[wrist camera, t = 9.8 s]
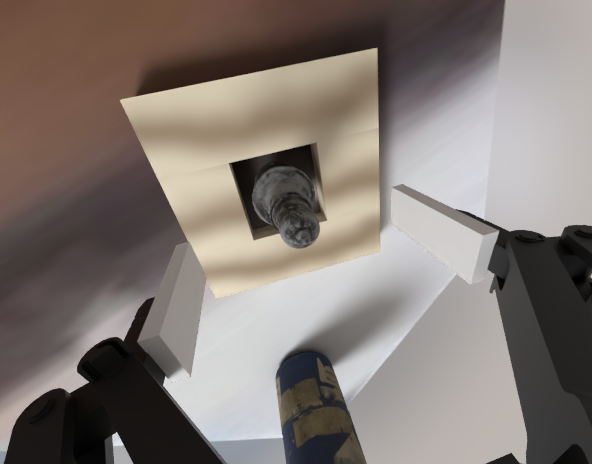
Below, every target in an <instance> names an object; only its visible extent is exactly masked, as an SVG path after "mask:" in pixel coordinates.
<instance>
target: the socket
mask: <svg viewBox="0 0 592 464" xmlns="http://www.w3.org/2000/svg"><path fill="white" fill-rule="evenodd" d="M120 102H121V104H122V106H123V108H124V110H125V112H126V114H127V116H128V118H129V120H130V122H131V124H132V126H133V128H134V130H135V133H136V135H137V137H138V139H139V141H140V143H141V145H142V147H143V149H144V151H145V153H146V155H147V157H148V159H149V161H150V163H151V166H152V168H153V170H154V172H155V174H156V176H157V178H158V180H159V182H160V184H161V186H162V188H163V190H164V192H165V194H166V197H167V199H168V201H169V203H170V205H171V207H172V209H173V211H174V213H175V215H176V217H177V219H178V221H179V223H180V225H181V227H182V230H183V232H184V234H185V236H186V238H187V240H188V242H190V244H191V246H192V248H193V250H194V252H195V254H196V256H197V258H198V260H199V262H200V264H201V266H202V268H203V270H204V272H205V274H206V276H207V277H206V279H207V281H208V283H209V285H210V287H211V289H212V292H213V294H214V296H215V298H216V299H218V298H221V297H225V296H228V295H232V294H235V293H239V292H242V291H246V290H249V289H253V288H256V287H259V286H263V285H266V284H270V283H273V282H277V281H280V280H284V279H287V278H291V277H294V276H297V275H301V274H304V273H308V272H311V271H315V270H318V269H322V268H325V267H329V266H332V265H335V264H339V263H342V262H346V261H349V260H353V259H356V258H360V257H363V256H367V255H370V254H373V253H377V252H380V189H379V122H378V55H377V48H373V49H368V50H364V51H359V52H354V53H349V54H344V55H339V56H334V57H329V58H324V59H319V60H314V61H309V62H304V63H299V64H294V65H289V66H285V67H280V68H275V69H270V70H265V71H260V72H255V73H250V74H245V75H240V76H235V77H230V78H225V79H220V80H215V81H210V82H205V83H201V84H196V85H191V86H186V87H181V88H176V89H171V90H166V91H161V92H156V93H151V94H146V95H141V96H136V97H131V98H126V99H122V100H120ZM308 144H310V146H311V153H312V159H313V166H314V173H315V179H316V186H317V193H318V199H319V206H320V212H318V213H314V214H315V216H316V217H317V219H318V221H319V225H320V233H319V236H318V238H317V239H316V241H315V242H314V243H313V244H312V245H310V246H308V247H306V248H302V249H296V248H292V247H290V246H288V245H287V244H286V243H285V242H284V241H283V239H282V238H281V235H280V232H279V231H278V230H277V229H275V228H274V226H273V225H269V226H265V227H261V228H257V229H254V230H252V227H251V223H250V220H249V217H248V214H247V211H246V208H245V205H244V201H243V198H242V195H241V192H240V189H239V186H238V183H237V179H236V176H235V173H234V170H233V167H232V164H231V163H232V162H236V161H240V160H245V159H249V158H253V157H257V156H261V155H266V154H270V153H274V152H278V151H283V150H287V149H291V148H295V147H299V146H304V145H308Z"/></svg>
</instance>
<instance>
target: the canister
mask: <svg viewBox="0 0 592 464" xmlns="http://www.w3.org/2000/svg"><path fill="white" fill-rule="evenodd" d="M276 388H277V396H278V404H279V412H280V420H281V428H282V435H283V440H284V449H285V457H286V464H367V463H366V460H365V457H364V454H363V451H362V448H361V446H360V443H359V440H358V437H357V434H356V431H355V428H354V425H353V422H352V419H351V416H350V413H349V411H348V409H347V406H346V404H345V401H344V398H343V395H342V392H341V389H340V387H339V384H338V381H337V378H336V375H335V373H334V370H333V367H332V364H331V362H330V361H329V359H328V358H327V357H325V356H324V355H322V354H320V353H315V352H307V353H301V354H298V355H295V356H293V357H291V358H289V359H288V360H286V361H285V362H284V363H283V364H282V365H281V366H280V367H279V369H278V371H277V374H276Z"/></svg>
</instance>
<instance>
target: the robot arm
mask: <svg viewBox="0 0 592 464" xmlns="http://www.w3.org/2000/svg"><path fill="white" fill-rule="evenodd" d="M391 224H392V225H393V226H395V227H396V228H397V229H399V230H400V231H401V232H403V233H404V234H405V235H406V236H408V237H409V238H410V239H412V240H413V241H414V242H416V243H417V244H418V245H419V246H421V247H422V248H423V249H425V250H426V251H427V252H429V253H430V254H431V255H432V256H434V257H435V258H436V259H438V260H439V261H440V262H442V263H443V264H444V265H446V266H447V267H448V268H449V269H451V270H452V271H453V272H455V273H456V274H457V275H459V276H460V277H461V278H462V279H464V280H465V281H466V282H468V283H469V284H470V285H471V284H474V283H477V282H480V281H483V280H485V277H486V274H487V271H488V270H489V271H491V272H492V273H494V274H495V275H494V278H493V281H492V285H491V288H490V293H492V292H493V290H494V289H495V291H496V296H497V300H498V305H499V309H500V314H501V318H502V323H503V327H504V332H505V336H506V341H507V345H508V350H509V354H510V359H511V363H512V368H513V372H514V377H515V381H516V386H517V390H518V395H519V399H520V404H521V408H522V413H523V418H524V422H525V427H526V431H527V450H526V463H527V464H592V279H591V278H590V276H591V274H592V226H586V225H572V226H568V227H565V228H564V230H563V233H562V235H561V236H559V237H545V236H543V235H541V234H539V233H536V232H532V231H526V230H515V231H511V232H509V231H507V230H505V229H503V228H501V227H499V226H497V225H494V224H492V223H490V222H488V221H486V220H485V221H484V219H481V218H479V217H476V216H475V215H473V214H471V213H469V212H466V211H461V210H457V209H453V208H451V207H449V206H447V205H445V204H443V203H441V202H438V201H436V200H434V199H432V198H430V197H428V196H426V195H424V194H422V193H420V192H418V191H416V190H413V189H411V188H409V187H407V186H405V185H403V184H401V185H398V186H394V187H392V199H391ZM206 277H207V276H206V274H205V272H204V270H203V268H202V266H201V264H200V262H199V260H198V258H197V256H196V254H195V252H194V250H193V248H192V246H191V244H190V242H186V243H183V244H179V245H176V247H175V250H174V252H173V255H172V257H171V260H170V262H169V265H168V267H167V269H166V272H165V274H164V277H163V279H162V282H161V284H160V287H159V289H158V292H157V294H156V296H155V297H154V298H150V299H147V300H146V301H145V302H144V303H143V304H142V306H141V307H140V308H139V309H138V311H137V313H136V316H135V319H134V320H133V322H132V324H131V327H130V329H129V331H128V333H127V335H126V337H125V339H124V341H122V340H121V339H120V338H118V337H112V338H108V339H106V340H103V341H101V342H100V343H98V344H96V345H95V346H94V347H92V348H91V349H90V350H89V351H88V352H87V353H86V354H85V355H84V356H83V357H82V358H81V360H80V362H79V364H78V366H77V372H78V373H79V374H80V375H81V376H83V377H84V378H85V379H86V380H87V381H89V383H87V384H86V385H84V386H82V387H80V388H78V389H77V390H75V391H73V392H71V393H68V392H67V391H66V390H64V389H61V388H58V389H53V390H51V391H49V392H47V393H45V394H43V395H42V396H40V397H39V398H37V399H36V400H35V401H33V402H32V403H31V404H30V405H29V406H28V407H27V408H26V409H25V410H24V411H23V412H22V414H21V415H20V416H19V418H18V419H17V421H16V423H15V425H14V427H13V430H12V434H11V438H10V442H9V446H8V450H7V454H6V458H5V461H4V464H114V456H113V443H112V435H113V434H115V433H116V432H117V433H118V434H119V436H120V438H121V440H122V442H123V444H124V446H125V448H126V450H127V452H128V454H129V456H130V457H131V460H132V461H133V464H227V463H226V462H225V461H224V459H223V458H222V457H221V456H220V455H219V454H218V452H217V451H216V450H215V448H214V447H213V446H212V445H211V444H210V442H209V441H208V440H207V439H206V437H205V436H204V435H203V434H202V433H201V431H200V430H199V429H198V428H197V427H196V425H195V424H194V423H193V422H192V420H191V419H190V418H189V417H188V416H187V414H186V413H185V412H184V411H183V410H182V408H181V407H180V406H179V405H178V403H177V402H176V401H175V400H174V399H173V397H172V396H171V395H170V394H169V393H168V391H167V390H166V389H165V388H164V387H163V383H164V379H165V376H166V377H167V378H168V379H169V380H170V381H171V383H173V382H176V381H180V380H183V379H186V378H189V377H191V371H192V365H193V359H194V352H195V346H196V340H197V333H198V327H199V321H200V315H201V308H202V302H203V296H204V289H205V283H206ZM487 464H520V463H519V462H518V461H517V459H516V458H515V457H514V456H513V454H512V453H510V454H508V455H505V456H503V457H501V458H498V459H496V460H494V461H491V462H489V463H487Z"/></svg>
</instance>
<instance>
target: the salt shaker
mask: <svg viewBox="0 0 592 464" xmlns="http://www.w3.org/2000/svg"><path fill="white" fill-rule="evenodd" d="M314 199H315V191H314V186H313V184H312V182H311V180H310V178H309V177H308V176H307V175H306V174H305V173H304V172H303V171H301V170H299V169H297V168H295V167H294V166H292V165H290V164H288V163H285V162H273V163H270V164H268V165H266V166H264V167H263V168H262V169H261V170H260V171H259V172H258V174H257V176H256V177H255V181H254V189H253V194H252V200H253V206H254V209H255V211H256V213H257V214H258V216H259V217H260V218H261V219H262V220H264V221H265V222H266V223H268V224H271V225H273V226H274V228H275V229H277V230H278V231H279V232H280V235H281V238H282V239H283V241H284V242H285V243H286V244H287V245H288V246H290V247H292V248H296V249H302V248H306V247H308V246H310V245H312V244H313V243H314V242H315V241H316V239H317V238H318V236H319V233H320V225H319V221H318V219H317V217H316V216H315V214H314V207H313V203H314Z"/></svg>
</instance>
